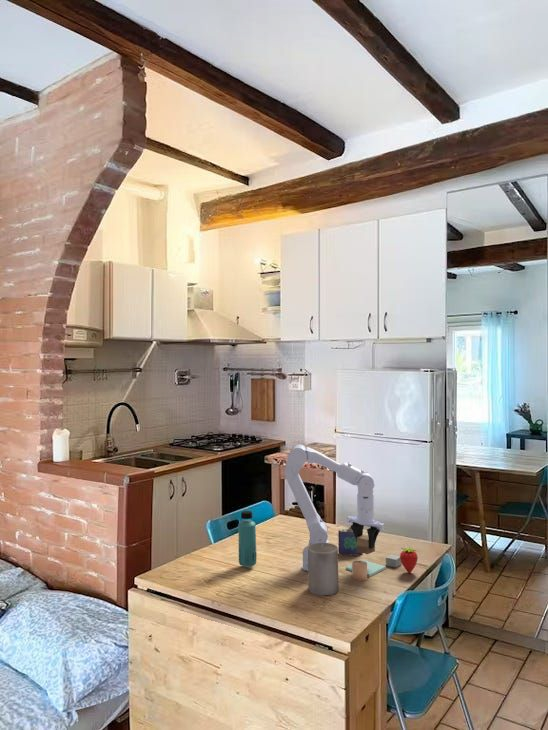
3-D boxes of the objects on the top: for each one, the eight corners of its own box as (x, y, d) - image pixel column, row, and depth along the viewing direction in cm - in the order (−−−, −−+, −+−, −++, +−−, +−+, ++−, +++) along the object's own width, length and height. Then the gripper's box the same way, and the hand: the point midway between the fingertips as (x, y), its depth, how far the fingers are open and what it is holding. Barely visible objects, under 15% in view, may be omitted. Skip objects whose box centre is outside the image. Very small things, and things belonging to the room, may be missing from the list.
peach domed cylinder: (361, 582, 187) (361, 567, 186) (349, 578, 190) (349, 563, 190) (370, 577, 190) (370, 563, 190) (357, 574, 194) (357, 559, 194)
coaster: (369, 576, 191) (369, 574, 191) (345, 569, 198) (345, 567, 198) (385, 568, 198) (385, 566, 198) (362, 561, 205) (362, 559, 205)
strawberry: (398, 575, 192) (397, 546, 192) (402, 567, 199) (402, 539, 199) (415, 578, 189) (415, 548, 189) (419, 570, 196) (419, 541, 196)
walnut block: (367, 554, 195) (367, 540, 195) (356, 551, 198) (356, 537, 198) (374, 551, 198) (374, 536, 198) (364, 548, 201) (364, 534, 201)
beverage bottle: (254, 571, 196) (253, 514, 196) (236, 570, 198) (235, 513, 198) (258, 564, 203) (258, 509, 203) (240, 563, 204) (240, 508, 204)
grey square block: (396, 568, 199) (396, 559, 199) (385, 565, 201) (385, 557, 201) (401, 564, 202) (401, 556, 202) (391, 562, 205) (391, 554, 205)
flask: (362, 552, 215) (362, 524, 214) (363, 555, 212) (363, 527, 212) (338, 552, 215) (337, 524, 215) (338, 555, 212) (338, 527, 212)
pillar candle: (319, 581, 187) (318, 536, 187) (344, 588, 181) (343, 542, 181) (302, 591, 180) (301, 544, 180) (327, 599, 174) (326, 550, 173)
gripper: (389, 509, 196) (389, 548, 196) (355, 502, 206) (355, 539, 206) (378, 513, 190) (378, 553, 191) (343, 505, 200) (343, 543, 201)
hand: (365, 546), depth 198 cm, fingers closed on walnut block, 4 cm apart
